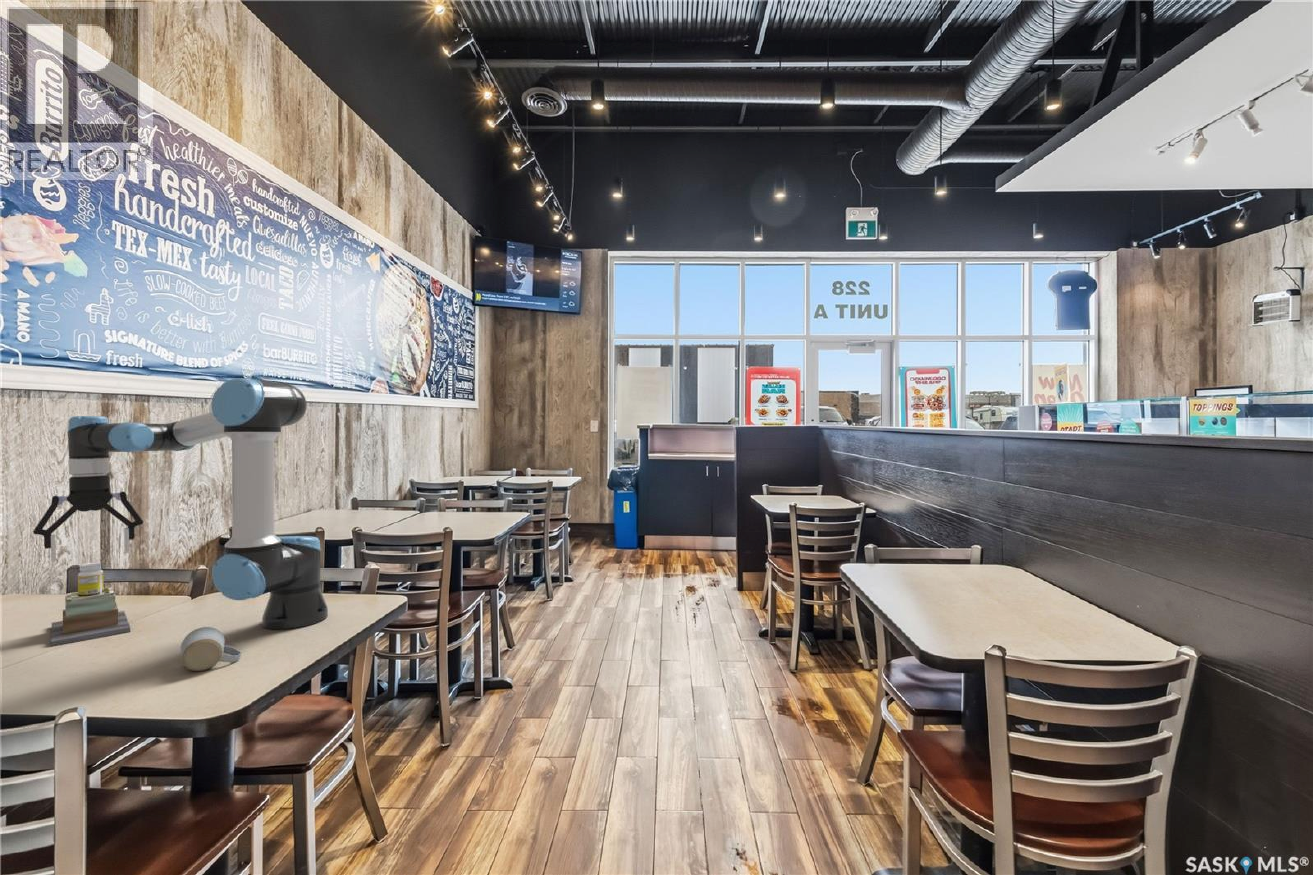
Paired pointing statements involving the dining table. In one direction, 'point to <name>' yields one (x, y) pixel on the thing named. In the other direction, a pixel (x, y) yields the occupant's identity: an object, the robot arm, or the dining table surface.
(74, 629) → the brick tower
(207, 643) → the ceramic mug
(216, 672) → the dining table surface
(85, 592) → the supplement bottle
